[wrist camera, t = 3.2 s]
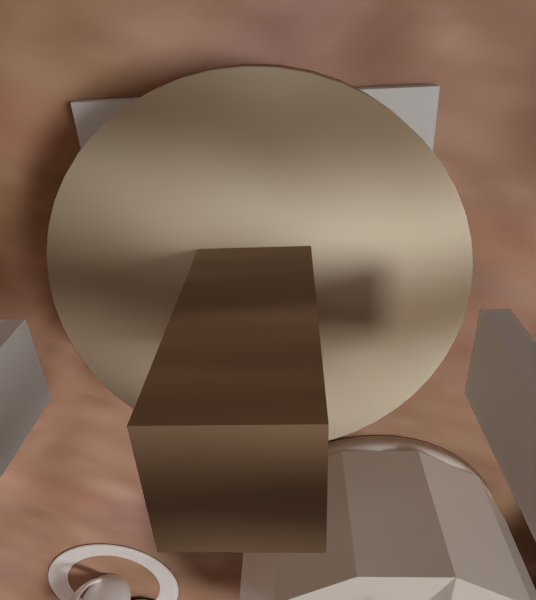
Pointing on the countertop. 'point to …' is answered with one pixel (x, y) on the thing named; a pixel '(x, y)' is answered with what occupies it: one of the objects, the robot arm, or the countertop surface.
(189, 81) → the lid
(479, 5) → the countertop surface
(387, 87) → the mat
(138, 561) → the cup and donut ornament
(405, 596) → the bowl
